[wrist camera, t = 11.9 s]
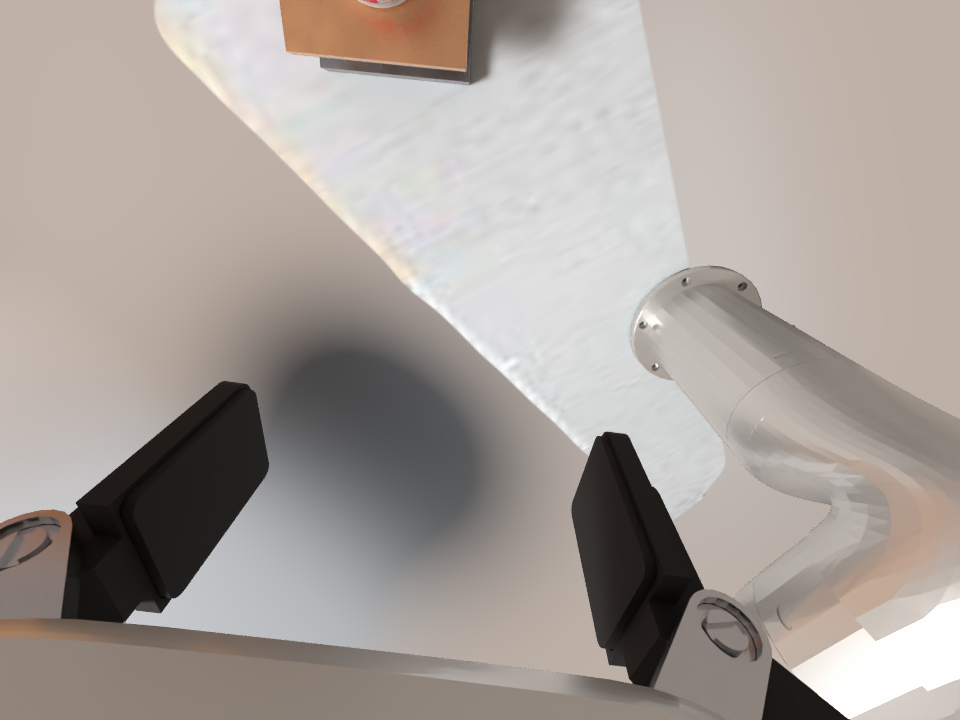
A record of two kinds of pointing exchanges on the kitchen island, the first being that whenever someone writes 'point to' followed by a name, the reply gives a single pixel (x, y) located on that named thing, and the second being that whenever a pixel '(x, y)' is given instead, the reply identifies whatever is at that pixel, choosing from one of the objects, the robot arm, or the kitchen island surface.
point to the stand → (384, 37)
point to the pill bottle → (382, 3)
